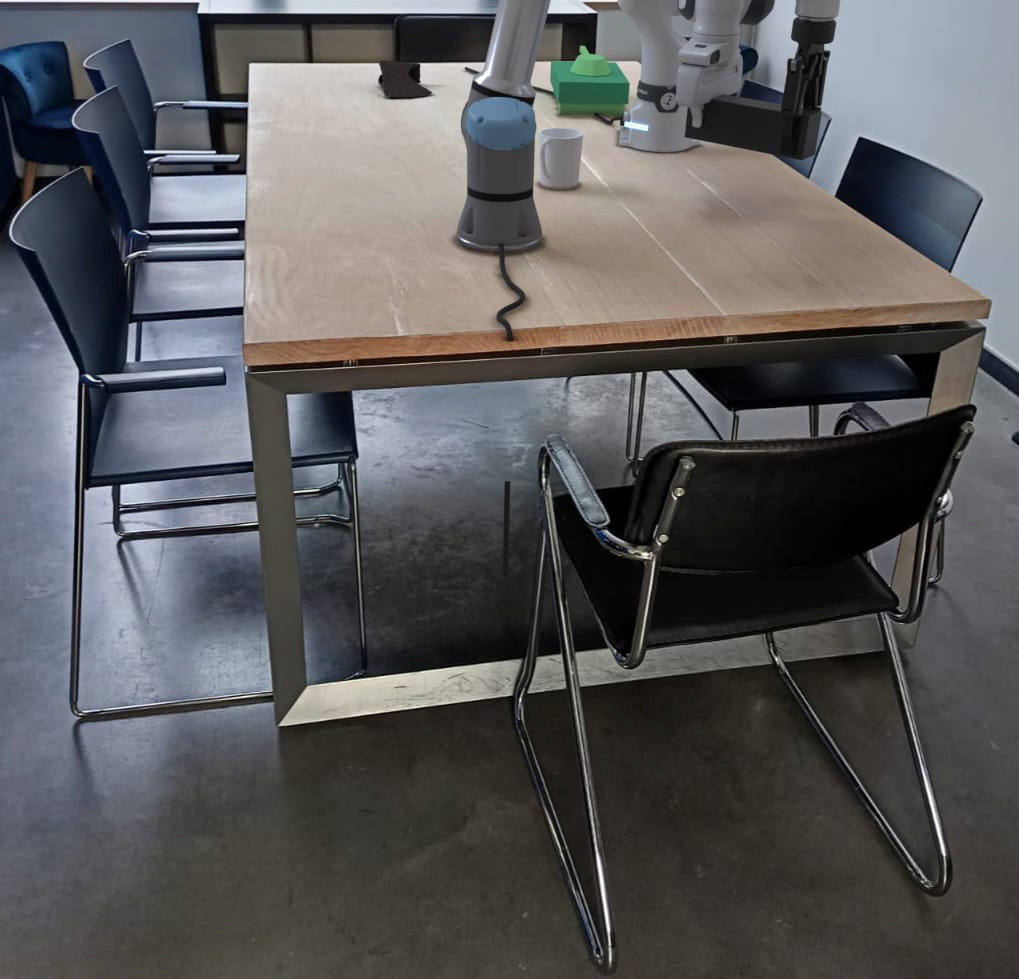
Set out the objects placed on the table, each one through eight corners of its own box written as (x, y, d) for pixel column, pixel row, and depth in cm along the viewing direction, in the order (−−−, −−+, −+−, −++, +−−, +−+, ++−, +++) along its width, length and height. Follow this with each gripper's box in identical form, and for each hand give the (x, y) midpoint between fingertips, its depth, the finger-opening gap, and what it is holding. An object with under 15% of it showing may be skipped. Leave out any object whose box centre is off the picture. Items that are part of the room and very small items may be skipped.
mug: (554, 175, 232) (556, 125, 226) (589, 183, 227) (592, 132, 222) (522, 186, 224) (523, 135, 219) (557, 195, 220) (559, 142, 214)
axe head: (443, 87, 294) (392, 77, 287) (436, 115, 299) (385, 106, 292) (421, 62, 307) (371, 52, 300) (414, 89, 311) (365, 80, 304)
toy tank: (613, 42, 301) (631, 67, 272) (609, 89, 308) (626, 118, 278) (549, 41, 300) (560, 66, 271) (547, 88, 307) (557, 117, 277)
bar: (814, 154, 207) (822, 111, 202) (802, 160, 203) (809, 116, 198) (698, 132, 219) (703, 90, 215) (684, 137, 215) (688, 95, 211)
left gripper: (817, 9, 202) (797, 137, 214) (772, 21, 189) (754, 156, 201) (856, 14, 198) (833, 144, 210) (813, 26, 185) (792, 164, 197)
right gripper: (725, 39, 216) (717, 111, 223) (673, 53, 202) (666, 130, 209) (754, 43, 213) (745, 116, 220) (703, 58, 199) (695, 135, 206)
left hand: (794, 150), depth 206 cm, fingers closed on bar, 6 cm apart
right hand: (706, 123), depth 214 cm, fingers closed on bar, 5 cm apart
